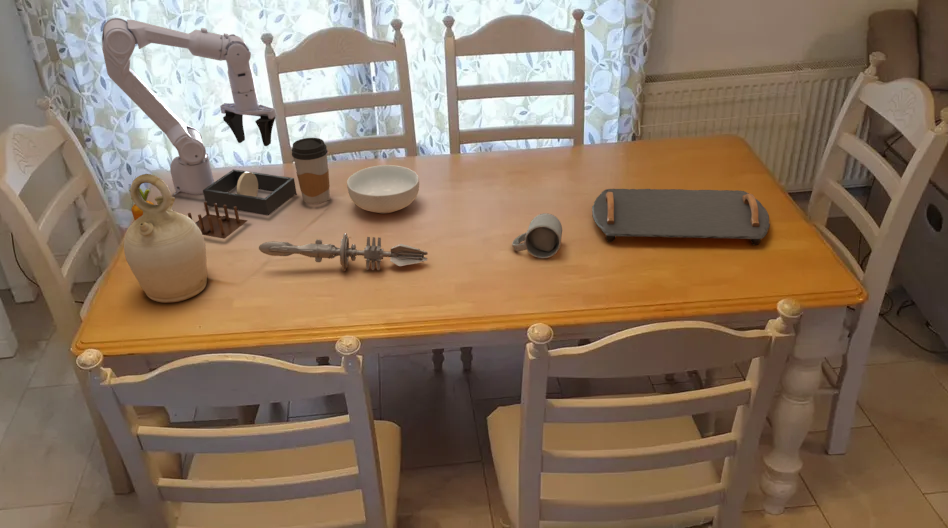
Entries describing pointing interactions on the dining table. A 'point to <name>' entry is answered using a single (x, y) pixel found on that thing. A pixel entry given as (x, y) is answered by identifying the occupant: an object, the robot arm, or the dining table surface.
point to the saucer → (247, 184)
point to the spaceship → (348, 252)
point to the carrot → (137, 211)
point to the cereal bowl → (383, 188)
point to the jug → (165, 247)
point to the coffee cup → (312, 169)
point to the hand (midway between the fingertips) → (254, 143)
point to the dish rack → (218, 222)
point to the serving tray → (680, 214)
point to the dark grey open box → (277, 184)
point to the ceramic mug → (541, 236)
